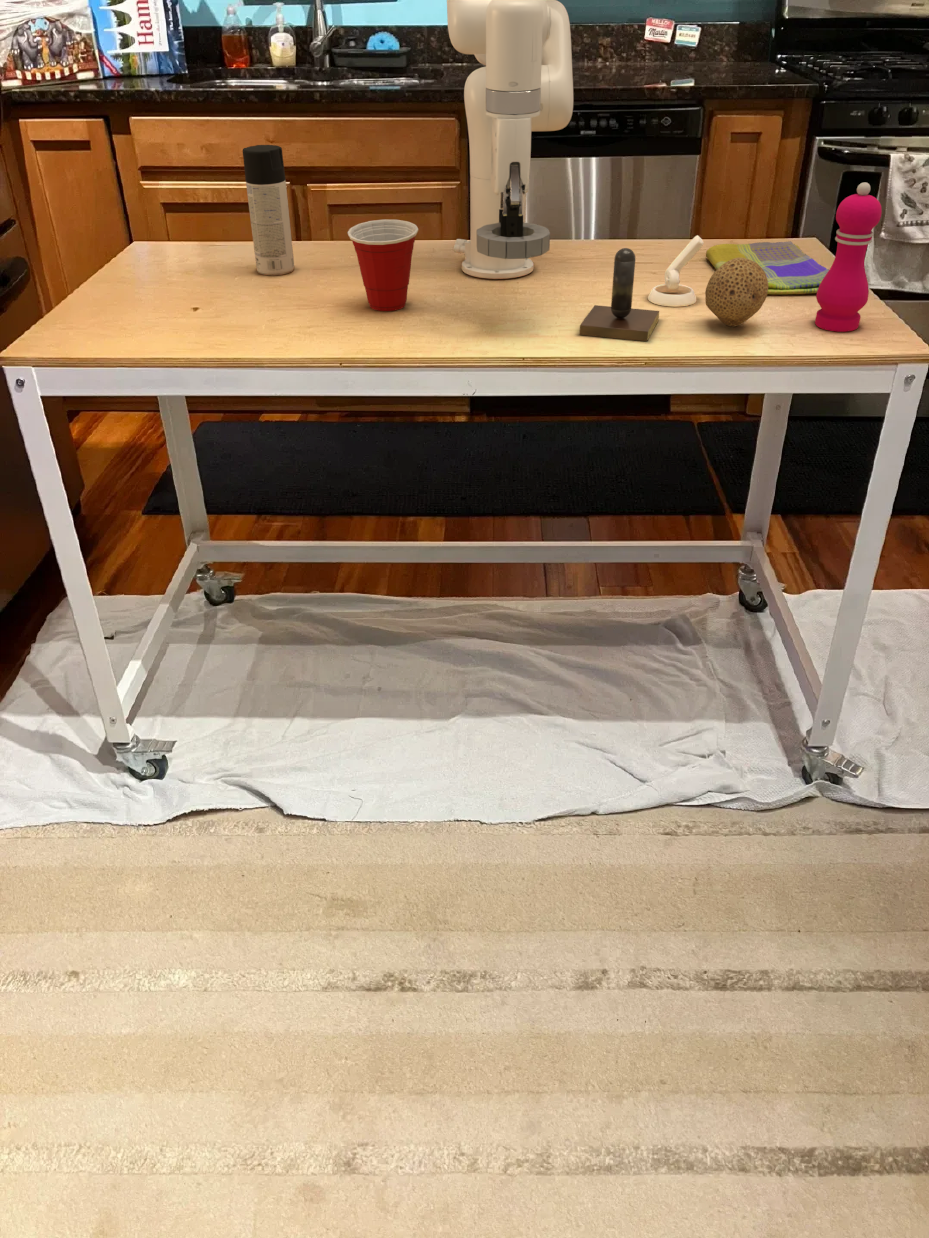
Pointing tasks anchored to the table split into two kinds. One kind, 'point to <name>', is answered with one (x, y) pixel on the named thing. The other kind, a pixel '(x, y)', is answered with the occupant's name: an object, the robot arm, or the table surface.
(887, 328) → the table surface
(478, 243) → the grey ring
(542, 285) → the table surface
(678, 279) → the white lever handle
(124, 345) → the table surface
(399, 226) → the plastic cup
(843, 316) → the pepper mill
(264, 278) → the table surface
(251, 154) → the spray can
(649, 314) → the spindle
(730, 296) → the natural sponge
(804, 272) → the dish towel
